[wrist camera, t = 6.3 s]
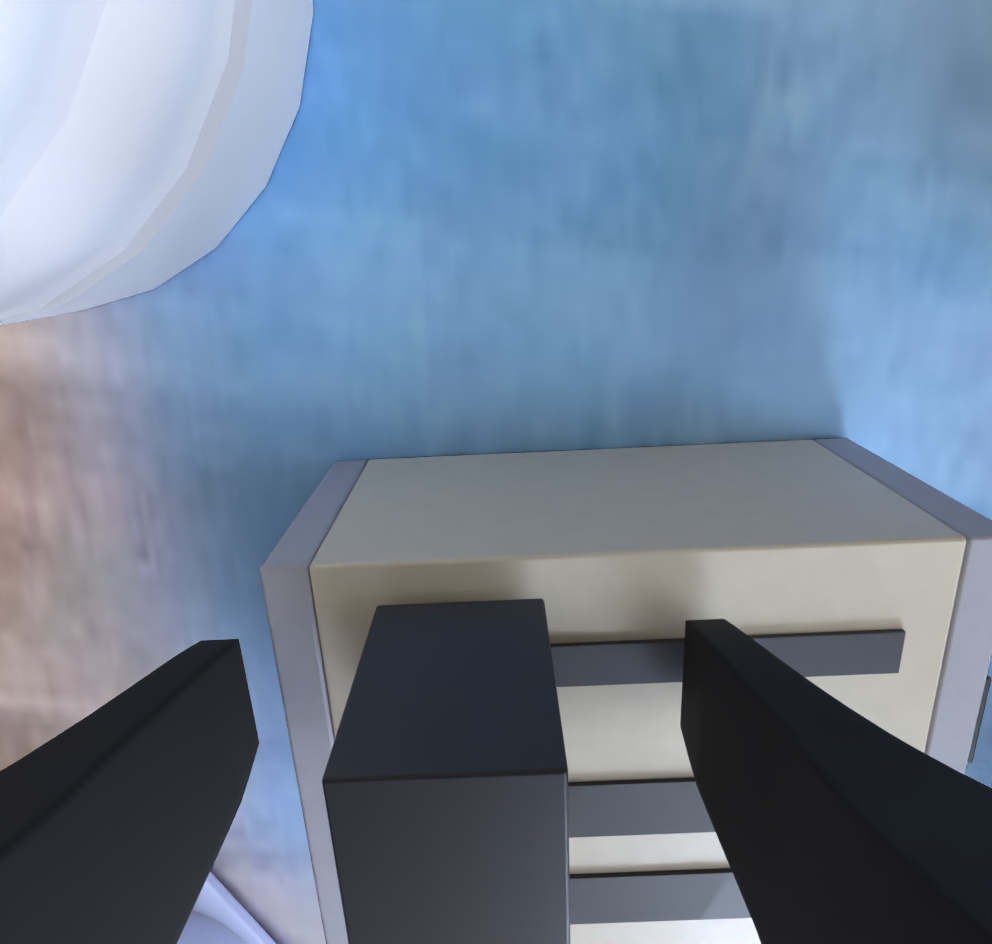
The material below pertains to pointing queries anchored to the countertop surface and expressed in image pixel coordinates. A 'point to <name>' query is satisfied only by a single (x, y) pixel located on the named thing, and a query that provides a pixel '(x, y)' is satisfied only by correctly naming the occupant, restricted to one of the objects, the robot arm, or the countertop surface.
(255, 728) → the robot arm
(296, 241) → the countertop surface
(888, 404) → the countertop surface
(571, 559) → the toaster
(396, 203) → the countertop surface
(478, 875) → the slider
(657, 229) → the countertop surface
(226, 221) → the honey pot
